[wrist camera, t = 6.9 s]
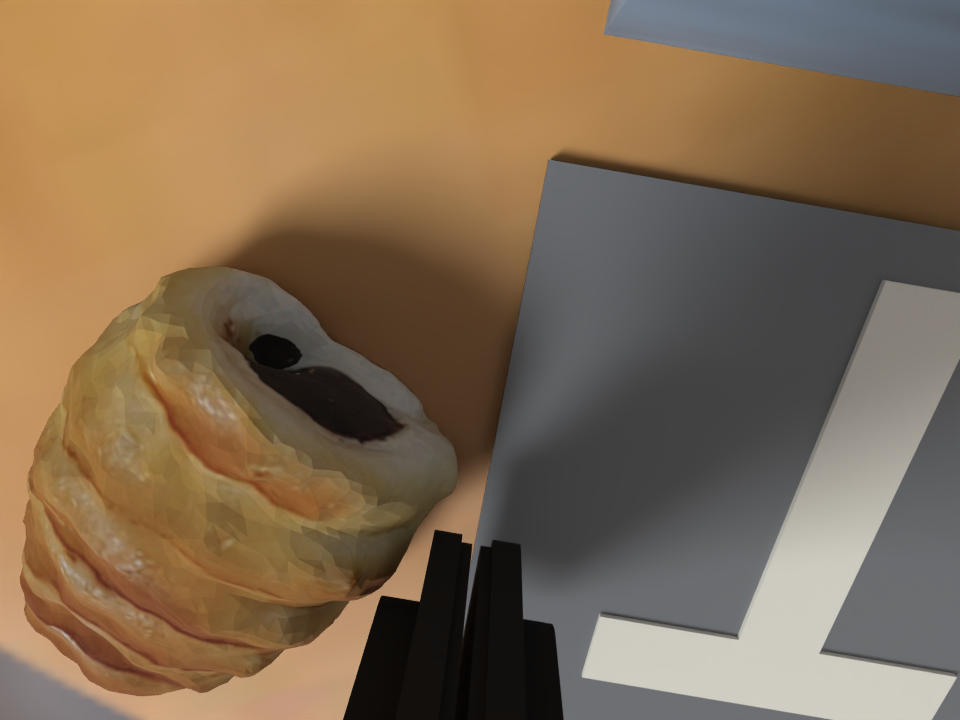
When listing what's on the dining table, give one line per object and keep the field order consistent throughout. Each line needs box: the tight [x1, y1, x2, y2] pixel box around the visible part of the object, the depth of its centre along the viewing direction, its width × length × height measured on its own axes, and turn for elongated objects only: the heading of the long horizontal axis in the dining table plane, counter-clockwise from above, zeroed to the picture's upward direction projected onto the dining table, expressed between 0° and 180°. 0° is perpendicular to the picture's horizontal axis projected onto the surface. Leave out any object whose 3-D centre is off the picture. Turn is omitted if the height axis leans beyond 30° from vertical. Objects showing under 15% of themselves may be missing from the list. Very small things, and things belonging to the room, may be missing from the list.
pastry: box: [20, 266, 458, 696], centre depth 10 cm, size 9×7×4 cm
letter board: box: [463, 160, 960, 720], centre depth 12 cm, size 13×14×1 cm
